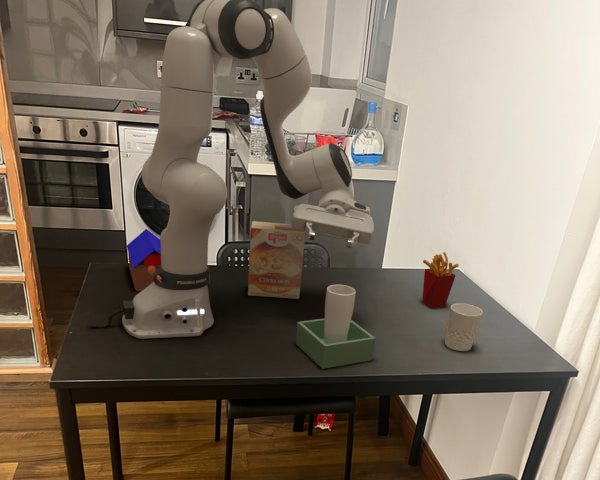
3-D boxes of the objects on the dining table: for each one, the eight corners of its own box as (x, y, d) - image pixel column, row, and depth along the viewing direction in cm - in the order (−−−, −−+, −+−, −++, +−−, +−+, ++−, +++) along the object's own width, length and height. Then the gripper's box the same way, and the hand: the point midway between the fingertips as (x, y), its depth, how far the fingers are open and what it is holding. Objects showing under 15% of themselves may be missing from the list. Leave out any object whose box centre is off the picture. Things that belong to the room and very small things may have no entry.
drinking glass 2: (348, 344, 147) (356, 286, 139) (347, 356, 141) (356, 296, 133) (320, 340, 147) (327, 282, 139) (319, 353, 141) (325, 293, 133)
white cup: (440, 337, 157) (448, 301, 151) (469, 340, 157) (478, 304, 152) (445, 351, 150) (453, 314, 145) (476, 353, 150) (486, 316, 145)
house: (167, 266, 186) (166, 228, 180) (178, 289, 170) (177, 249, 164) (128, 267, 182) (125, 228, 176) (134, 291, 166) (132, 250, 160)
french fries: (449, 307, 175) (460, 258, 168) (425, 310, 172) (436, 259, 165) (432, 296, 182) (442, 248, 174) (409, 298, 179) (419, 249, 171)
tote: (322, 369, 136) (325, 346, 133) (295, 343, 146) (297, 321, 143) (372, 360, 142) (375, 338, 139) (343, 336, 152) (345, 315, 149)
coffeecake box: (247, 295, 170) (250, 227, 160) (248, 286, 176) (251, 220, 166) (299, 299, 171) (305, 231, 161) (299, 290, 177) (305, 224, 167)
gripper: (296, 192, 149) (289, 220, 140) (376, 209, 150) (375, 238, 141) (292, 215, 154) (285, 244, 144) (370, 231, 155) (368, 260, 145)
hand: (330, 241), depth 143 cm, fingers open, 8 cm apart
